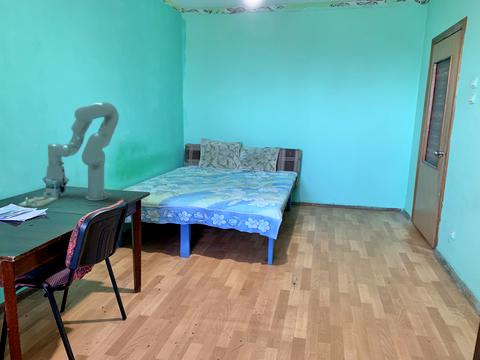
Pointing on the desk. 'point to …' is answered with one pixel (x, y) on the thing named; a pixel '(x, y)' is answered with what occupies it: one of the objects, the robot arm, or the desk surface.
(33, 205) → the locator board
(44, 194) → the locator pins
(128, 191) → the desk surface
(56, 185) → the light bulb box
